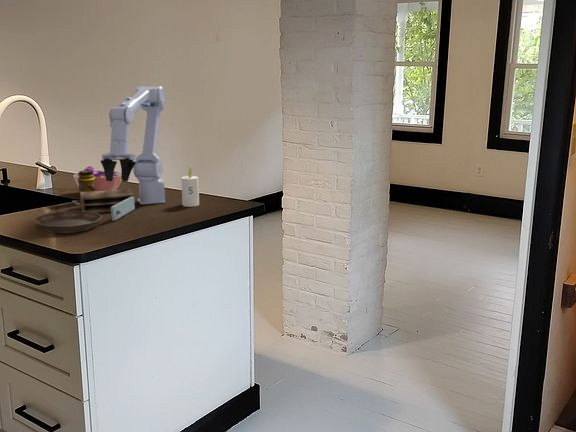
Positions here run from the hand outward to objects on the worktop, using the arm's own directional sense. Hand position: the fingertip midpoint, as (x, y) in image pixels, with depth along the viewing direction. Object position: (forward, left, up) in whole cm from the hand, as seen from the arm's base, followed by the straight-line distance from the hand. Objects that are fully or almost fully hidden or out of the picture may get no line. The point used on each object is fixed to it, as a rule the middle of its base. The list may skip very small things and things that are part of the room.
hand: (116, 181), depth 208 cm
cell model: (+4, -43, -13) cm, 45 cm away
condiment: (+10, -29, -13) cm, 33 cm away
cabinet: (+3, -15, -13) cm, 20 cm away
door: (-2, -2, -12) cm, 13 cm away
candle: (-27, -11, -13) cm, 32 cm away
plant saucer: (+17, +7, -13) cm, 22 cm away
